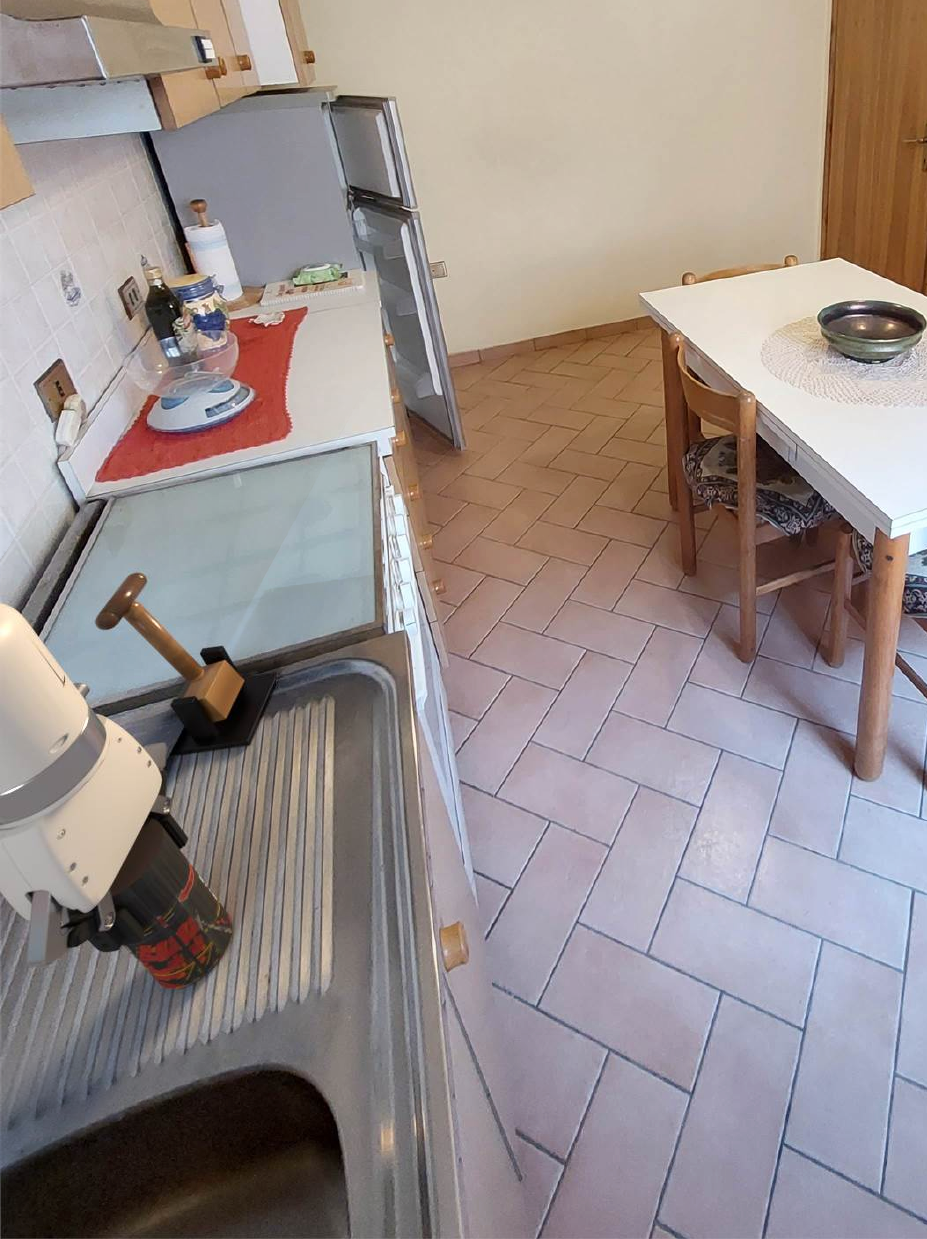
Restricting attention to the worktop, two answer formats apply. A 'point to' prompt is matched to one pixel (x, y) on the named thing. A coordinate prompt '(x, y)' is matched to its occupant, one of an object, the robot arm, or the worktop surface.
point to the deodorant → (170, 910)
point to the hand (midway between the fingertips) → (146, 890)
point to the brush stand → (240, 719)
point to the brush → (173, 651)
